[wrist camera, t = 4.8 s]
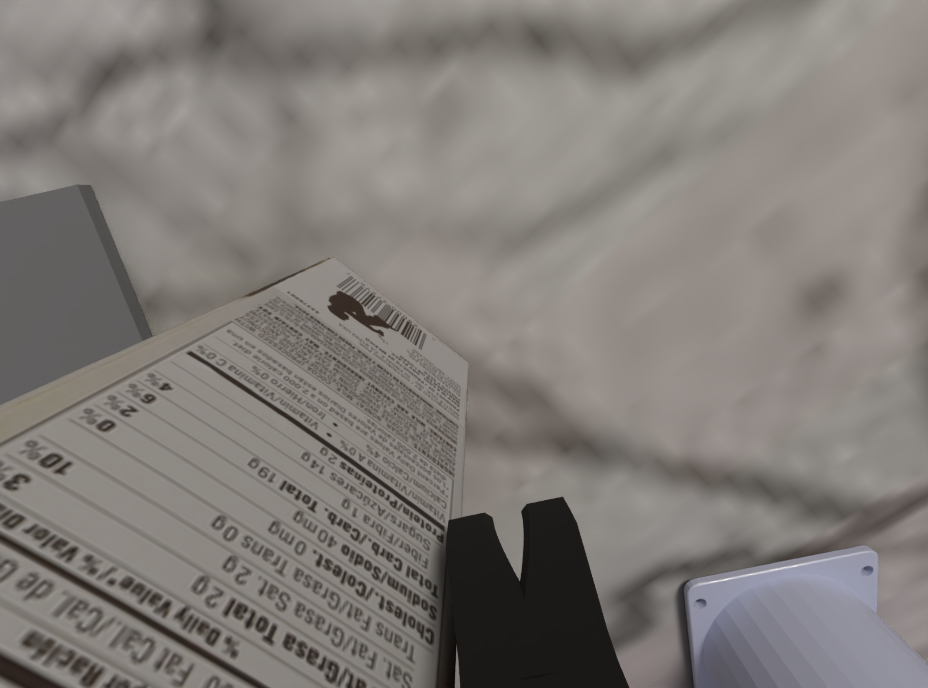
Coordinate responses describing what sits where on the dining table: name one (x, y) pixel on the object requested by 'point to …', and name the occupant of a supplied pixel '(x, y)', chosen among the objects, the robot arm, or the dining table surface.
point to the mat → (60, 290)
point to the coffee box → (239, 502)
